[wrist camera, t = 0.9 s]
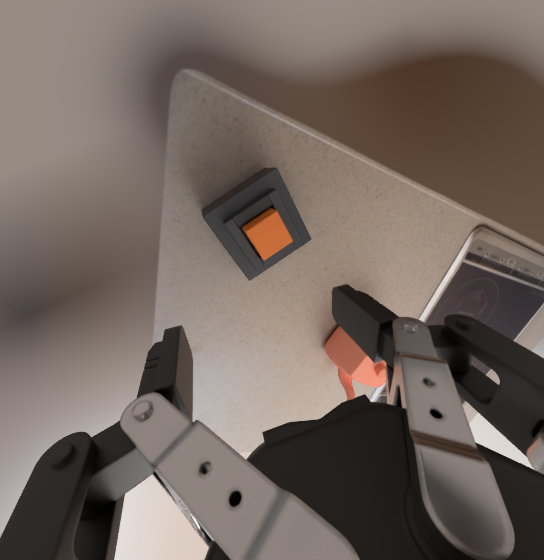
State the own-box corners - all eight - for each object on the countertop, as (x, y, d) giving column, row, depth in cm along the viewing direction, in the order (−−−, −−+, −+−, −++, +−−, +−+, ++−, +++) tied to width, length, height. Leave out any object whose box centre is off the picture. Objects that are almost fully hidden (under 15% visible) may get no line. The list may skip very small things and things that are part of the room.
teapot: (390, 315, 50) (434, 348, 41) (339, 377, 54) (368, 419, 45) (357, 294, 45) (398, 326, 36) (303, 364, 48) (328, 409, 39)
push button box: (201, 209, 31) (202, 219, 25) (264, 167, 31) (281, 167, 25) (242, 267, 36) (252, 287, 30) (297, 230, 36) (317, 243, 30)
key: (241, 226, 26) (245, 231, 24) (270, 207, 27) (277, 210, 24) (259, 254, 28) (264, 260, 26) (286, 236, 29) (293, 241, 26)
